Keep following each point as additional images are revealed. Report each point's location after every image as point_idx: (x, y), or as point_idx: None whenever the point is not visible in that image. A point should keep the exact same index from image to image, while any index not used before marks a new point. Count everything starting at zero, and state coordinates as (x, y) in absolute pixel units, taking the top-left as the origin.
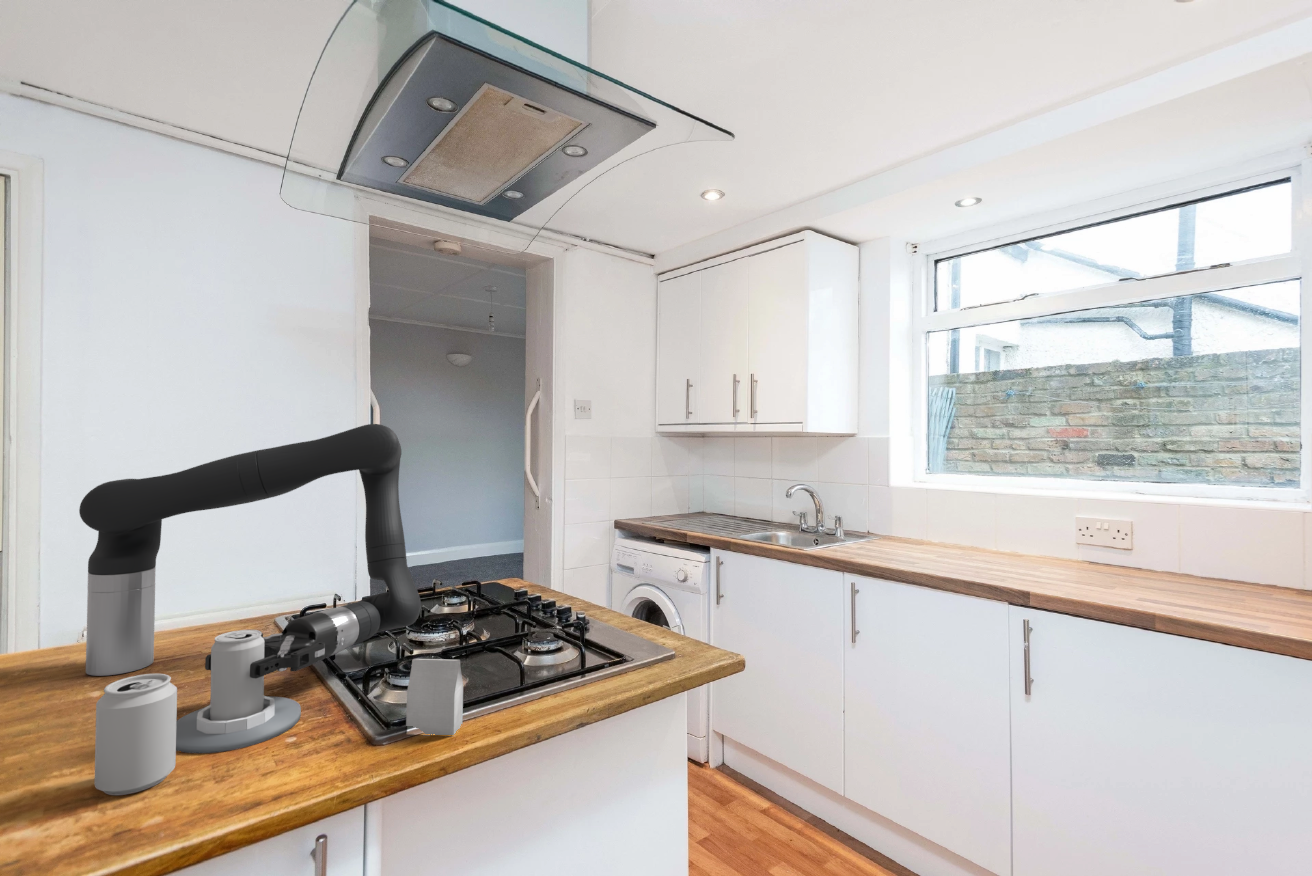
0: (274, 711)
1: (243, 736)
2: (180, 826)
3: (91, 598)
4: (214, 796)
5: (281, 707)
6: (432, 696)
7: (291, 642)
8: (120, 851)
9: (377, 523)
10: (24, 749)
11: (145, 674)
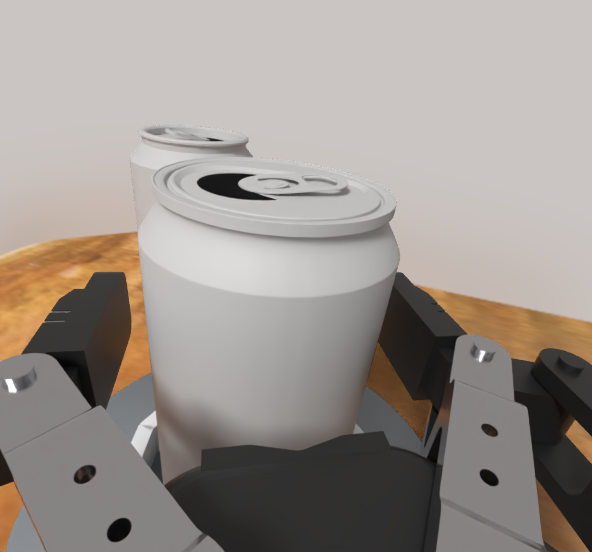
0: None
1: (115, 420)
2: (18, 273)
3: None
4: (16, 312)
5: None
6: None
7: (40, 524)
8: (62, 247)
9: None
10: (461, 300)
11: (231, 141)
